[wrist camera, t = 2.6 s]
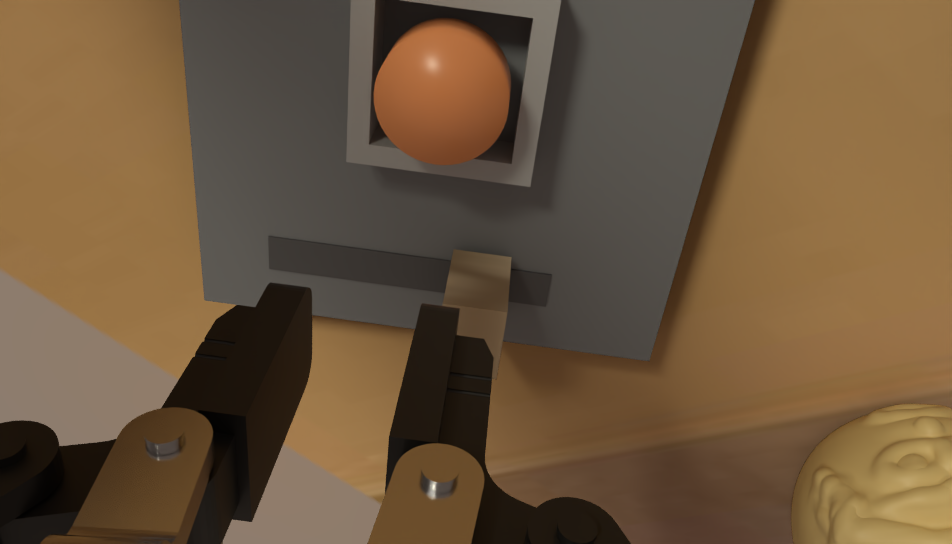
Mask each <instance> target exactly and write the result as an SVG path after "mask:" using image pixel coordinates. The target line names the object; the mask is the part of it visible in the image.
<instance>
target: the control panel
mask: <svg viewBox="0 0 952 544" xmlns="http://www.w3.org/2000/svg"><path fill="white" fill-rule="evenodd" d="M754 2H755V0H179V4H180V16H181V28H182V40H183V52H184V63H185V75H186V87H187V99H188V111H189V122H190V134H191V146H192V158H193V170H194V181H195V193H196V205H197V217H198V229H199V240H200V252H201V264H202V276H203V288H204V300H206V301H213V302H221V303H228V304H235V305H243V306H250V307H256V305H257V303H258V301H259V299H260V298H261V296H262V294H263V292H264V290H265V289H266V287H267V285H268V284H269V283H270V282H272V283H280V284H287V285H294V286H302V287H309V288H310V289H311V291H312V315H316V316H323V317H330V318H337V319H345V320H352V321H359V322H367V323H374V324H381V325H388V326H396V327H403V328H410V329H415V328H416V324H417V319H418V315H419V311H420V307H421V304H422V303H424V304H432V305H439V306H442V305H443V300H444V295H445V290H446V285H447V280H448V275H449V270H450V265H451V260H452V255H453V250H454V249H456V250H463V251H470V252H478V253H485V254H492V255H500V256H507V257H512V258H511V271H510V285H509V299H508V312H507V318H506V325H505V331H504V337H503V341H505V342H512V343H520V344H527V345H534V346H542V347H549V348H556V349H563V350H571V351H578V352H585V353H593V354H600V355H607V356H614V357H622V358H629V359H636V360H644V361H649V360H650V357H651V354H652V350H653V347H654V343H655V340H656V337H657V333H658V330H659V326H660V323H661V319H662V316H663V313H664V309H665V306H666V302H667V299H668V296H669V292H670V289H671V285H672V282H673V278H674V275H675V272H676V268H677V265H678V261H679V258H680V255H681V251H682V248H683V244H684V241H685V238H686V234H687V231H688V227H689V224H690V220H691V217H692V214H693V210H694V207H695V203H696V200H697V197H698V193H699V190H700V186H701V183H702V179H703V176H704V173H705V169H706V166H707V162H708V159H709V156H710V152H711V149H712V145H713V142H714V139H715V135H716V132H717V128H718V125H719V121H720V118H721V115H722V111H723V108H724V104H725V101H726V98H727V94H728V91H729V87H730V84H731V80H732V77H733V74H734V70H735V67H736V63H737V60H738V57H739V53H740V50H741V46H742V43H743V40H744V36H745V33H746V29H747V26H748V22H749V19H750V16H751V12H752V9H753V5H754ZM436 18H454V19H459V20H463V21H466V22H469V23H471V24H473V25H475V26H477V27H479V28H481V29H482V30H484V31H485V32H486V33H487V34H489V35H490V36H491V37H492V38H493V39H494V40H495V41H496V43H497V44H498V45H499V47H500V48H501V50H502V51H503V53H504V55H505V57H506V59H507V62H508V65H509V69H510V74H511V92H510V101H509V109H508V115H507V120H506V123H505V125H504V128H503V130H502V132H501V134H500V136H499V137H498V138H497V140H496V141H495V142H494V144H493V145H492V146H491V147H490V148H489V149H487V150H486V151H485V152H484V153H482V154H481V155H479V156H478V157H476V158H474V159H472V160H469V161H467V162H463V163H460V164H454V165H435V164H430V163H425V162H422V161H419V160H417V159H415V158H413V157H411V156H409V155H407V154H406V153H404V152H403V151H401V150H400V149H399V148H398V147H396V146H395V145H394V144H393V143H392V142H391V140H390V139H389V138H388V137H387V135H386V134H385V132H384V131H383V129H382V127H381V125H380V123H379V121H378V118H377V115H376V112H375V106H374V86H375V82H376V78H377V75H378V72H379V70H380V68H381V66H382V65H383V63H384V61H385V59H386V58H387V56H388V54H389V53H390V51H391V49H392V48H393V46H394V44H395V43H396V42H397V40H398V39H399V38H400V37H401V36H402V35H403V34H404V33H405V32H406V31H407V30H409V29H410V28H412V27H413V26H415V25H417V24H419V23H421V22H424V21H427V20H431V19H436Z"/></svg>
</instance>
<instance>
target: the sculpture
mask: <svg viewBox="0 0 952 544" xmlns="http://www.w3.org/2000/svg"><path fill="white" fill-rule="evenodd" d="M791 527H792V537H793V543H794V544H952V409H951V408H949V407H946V406H941V405H931V404H899V405H893V406H889V407H885V408H881V409H877V410H875V411H873V412H871V413H870V414H868V415H865V416H862V417H860V418H857V419H855V420H853V421H850V422H848V423H846V424H845V425H843V426H841V427H839V428H838V429H836V430H835V431H833V432H832V433H831V434H829V435H828V436H827V437H826V438H825V439H823V440H822V441H821V442H820V443H819V444H818V445H817V447H816V448H815V449H814V450H813V451H812V453H811V454H810V456H809V457H808V459H807V460H806V462H805V464H804V465H803V467H802V469H801V471H800V474H799V476H798V479H797V482H796V485H795V489H794V493H793V499H792V508H791Z"/></svg>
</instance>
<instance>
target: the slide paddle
mask: <svg viewBox="0 0 952 544" xmlns="http://www.w3.org/2000/svg"><path fill="white" fill-rule="evenodd" d="M511 258H512V257H507V256H500V255H492V254H485V253H478V252H470V251H463V250H456V249H454V250H453V255H452V260H451V265H450V270H449V275H448V280H447V285H446V290H445V295H444V300H443V305H442V306H446V307H454V308H460V313H459V321H458V329H457V335H460V336H467V337H474V338H482V339H484V340H485V342H486V343H487V345H488V347H489V349H490V351H491V353H492V355H493V357H494V361H493V372H492V379H497V373H498V367H499V361H500V355H501V349H502V343H503V337H504V331H505V325H506V318H507V312H508V299H509V285H510V271H511Z"/></svg>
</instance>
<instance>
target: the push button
mask: <svg viewBox="0 0 952 544" xmlns="http://www.w3.org/2000/svg"><path fill="white" fill-rule="evenodd" d="M510 92H511V74H510V69H509V65H508V62H507V59H506V57H505V55H504V53H503V51H502V50H501V48H500V47H499V45H498V44H497V43H496V41H495V40H494V39H493V38H492V37H491V36H490V35H489V34H487V33H486V32H485V31H484V30H482V29H481V28H479V27H477V26H475V25H473V24H471V23H469V22H466V21H463V20H459V19H454V18H436V19H431V20H427V21H424V22H421V23H419V24H417V25H415V26H413V27H412V28H410V29H409V30H407V31H406V32H405V33H404V34H403V35H402V36H401V37H400V38H399V39H398V40H397V42H396V43H395V44H394V46H393V48H392V49H391V51H390V53H389V54H388V56H387V58H386V59H385V61H384V63H383V65H382V66H381V68H380V70H379V72H378V75H377V78H376V82H375V86H374V106H375V112H376V115H377V118H378V121H379V123H380V125H381V127H382V129H383V131H384V132H385V134H386V135H387V137H388V138H389V139H390V140H391V142H392V143H393V144H394V145H395V146H396V147H398V148H399V149H400V150H401V151H403V152H404V153H406V154H407V155H409V156H411V157H413V158H415V159H417V160H419V161H422V162H425V163H430V164H435V165H454V164H460V163H463V162H467V161H469V160H472V159H474V158H476V157H478V156H479V155H481V154H482V153H484V152H485V151H486V150H487V149H489V148H490V147H491V146H492V145H493V144H494V142H495V141H496V140H497V138H498V137H499V136H500V134H501V132H502V130H503V128H504V125H505V123H506V120H507V115H508V109H509V101H510Z"/></svg>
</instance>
